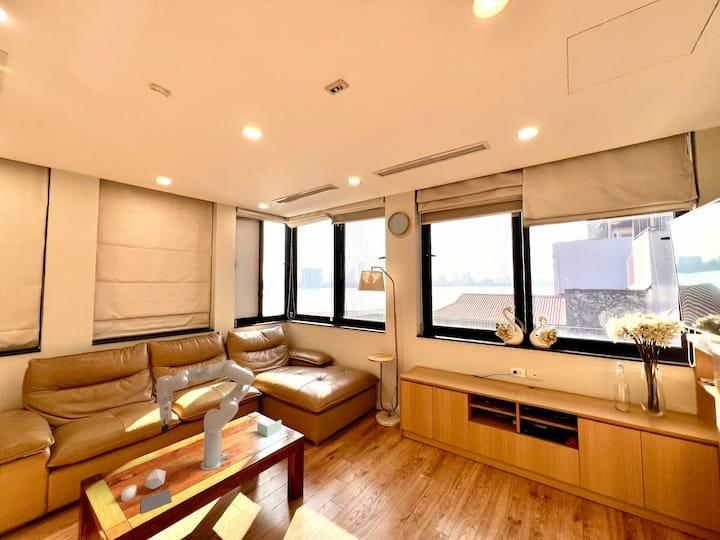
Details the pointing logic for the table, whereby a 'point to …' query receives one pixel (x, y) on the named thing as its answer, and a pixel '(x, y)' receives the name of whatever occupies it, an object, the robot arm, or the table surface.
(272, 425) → the pale green block
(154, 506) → the mat
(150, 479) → the die
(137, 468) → the table surface
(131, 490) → the white rounded lump
